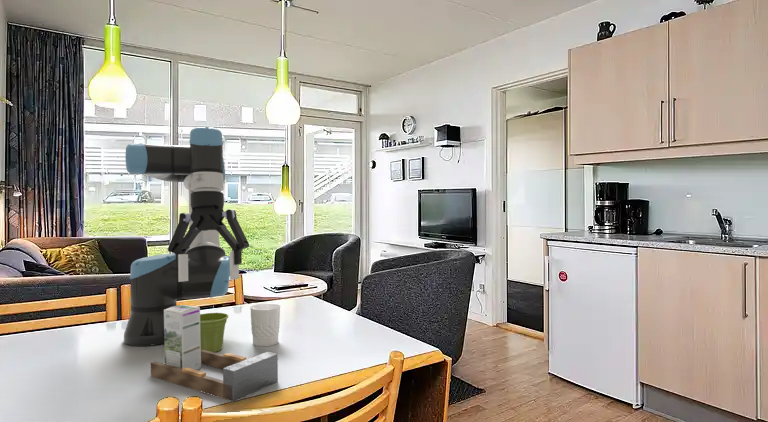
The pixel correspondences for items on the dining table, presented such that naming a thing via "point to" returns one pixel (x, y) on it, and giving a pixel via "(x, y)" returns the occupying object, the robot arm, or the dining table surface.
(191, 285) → the robot arm
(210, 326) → the plant pot
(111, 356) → the dining table surface
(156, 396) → the dining table surface
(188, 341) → the syrup box
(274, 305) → the white cup
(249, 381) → the connector block
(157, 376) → the brown parallel rails
